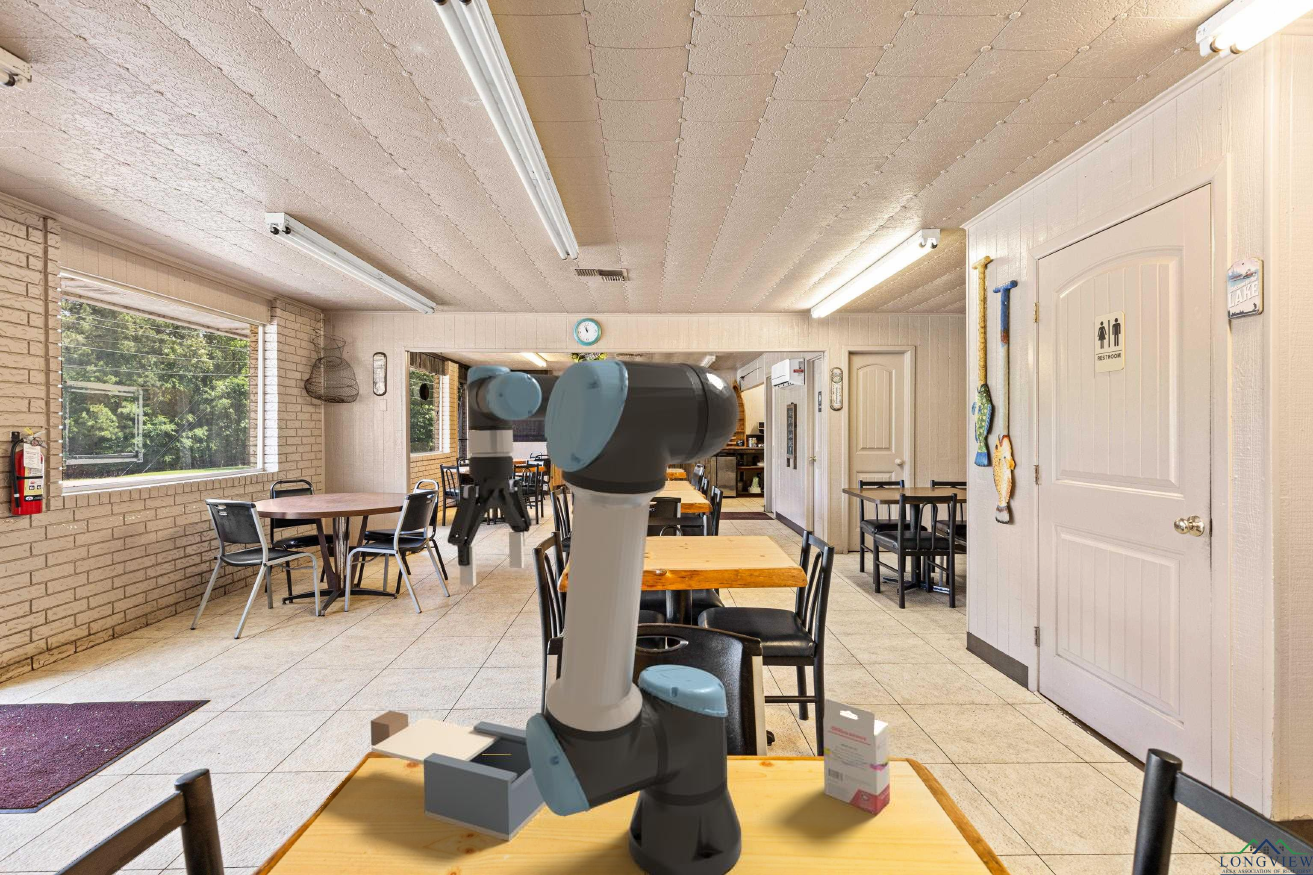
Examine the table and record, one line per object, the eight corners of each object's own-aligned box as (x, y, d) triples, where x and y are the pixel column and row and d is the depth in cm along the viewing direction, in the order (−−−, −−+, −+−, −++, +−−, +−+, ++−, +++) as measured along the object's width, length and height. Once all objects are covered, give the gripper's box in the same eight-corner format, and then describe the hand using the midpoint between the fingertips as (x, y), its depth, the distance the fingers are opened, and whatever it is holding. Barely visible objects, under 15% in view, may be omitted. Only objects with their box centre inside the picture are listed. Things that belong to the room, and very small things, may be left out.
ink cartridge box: (891, 800, 95) (890, 702, 95) (877, 816, 92) (876, 714, 92) (838, 779, 101) (837, 687, 101) (822, 793, 98) (821, 697, 97)
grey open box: (560, 790, 99) (559, 737, 99) (509, 841, 88) (507, 780, 87) (482, 771, 106) (481, 720, 105) (424, 815, 94) (423, 759, 93)
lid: (500, 746, 103) (500, 721, 103) (453, 781, 93) (452, 754, 93) (406, 724, 111) (405, 701, 111) (353, 755, 101) (352, 730, 101)
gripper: (515, 451, 125) (518, 559, 126) (422, 458, 102) (425, 590, 103) (548, 451, 122) (550, 562, 123) (459, 458, 99) (463, 594, 100)
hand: (493, 575), depth 113 cm, fingers open, 13 cm apart
